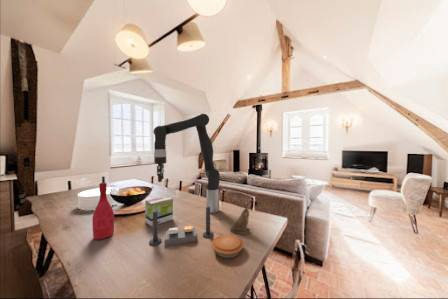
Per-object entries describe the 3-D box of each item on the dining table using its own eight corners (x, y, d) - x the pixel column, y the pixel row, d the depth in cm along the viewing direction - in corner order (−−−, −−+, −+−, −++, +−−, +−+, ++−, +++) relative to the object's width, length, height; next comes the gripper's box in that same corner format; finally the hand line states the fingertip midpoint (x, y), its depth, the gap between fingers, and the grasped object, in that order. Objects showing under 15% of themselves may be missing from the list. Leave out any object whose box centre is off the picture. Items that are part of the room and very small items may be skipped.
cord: (162, 238, 91) (161, 209, 91) (160, 244, 85) (160, 213, 85) (150, 239, 89) (149, 210, 89) (148, 246, 84) (147, 215, 83)
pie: (249, 257, 76) (249, 247, 75) (215, 264, 71) (215, 253, 71) (236, 239, 90) (236, 230, 90) (208, 244, 86) (208, 234, 86)
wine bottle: (90, 242, 87) (89, 185, 86) (95, 233, 96) (94, 182, 95) (113, 237, 91) (112, 183, 91) (115, 229, 100) (114, 180, 99)
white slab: (177, 229, 93) (177, 227, 93) (177, 233, 87) (177, 230, 87) (169, 230, 92) (169, 228, 92) (168, 234, 86) (168, 231, 86)
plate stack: (93, 200, 155) (92, 187, 155) (124, 199, 158) (124, 187, 158) (68, 211, 127) (68, 197, 127) (107, 210, 130) (107, 195, 130)
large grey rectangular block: (195, 232, 97) (194, 226, 97) (196, 241, 88) (196, 233, 88) (166, 236, 93) (166, 229, 93) (164, 245, 84) (164, 238, 84)
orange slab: (192, 227, 95) (191, 225, 95) (192, 231, 89) (192, 228, 89) (184, 228, 94) (184, 226, 94) (184, 232, 88) (184, 229, 88)
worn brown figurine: (250, 235, 99) (256, 206, 97) (247, 240, 94) (254, 210, 92) (231, 227, 103) (237, 200, 102) (228, 231, 98) (235, 202, 96)
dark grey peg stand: (212, 231, 98) (212, 204, 98) (214, 237, 92) (214, 208, 92) (202, 233, 97) (202, 205, 96) (203, 238, 91) (203, 209, 90)
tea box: (151, 227, 103) (151, 203, 103) (144, 222, 110) (144, 200, 110) (173, 219, 114) (173, 198, 114) (166, 215, 121) (165, 195, 121)
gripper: (165, 156, 104) (165, 182, 105) (167, 155, 118) (167, 178, 119) (152, 157, 103) (152, 183, 103) (156, 155, 116) (156, 178, 117)
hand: (160, 180), depth 111 cm, fingers open, 8 cm apart
